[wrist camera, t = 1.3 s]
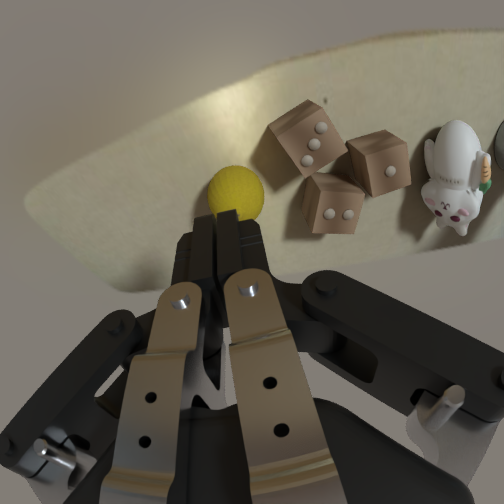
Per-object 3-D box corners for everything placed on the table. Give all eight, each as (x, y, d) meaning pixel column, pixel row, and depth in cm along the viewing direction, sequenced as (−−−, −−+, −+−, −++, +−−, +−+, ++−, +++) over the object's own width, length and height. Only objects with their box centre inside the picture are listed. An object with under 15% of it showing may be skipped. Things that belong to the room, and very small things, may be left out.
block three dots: (307, 99, 28) (323, 108, 24) (331, 136, 30) (349, 151, 26) (267, 125, 29) (276, 138, 25) (293, 160, 32) (305, 179, 28)
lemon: (253, 203, 35) (262, 244, 28) (205, 198, 34) (203, 238, 27) (263, 159, 31) (276, 191, 25) (212, 152, 30) (210, 182, 24)
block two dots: (347, 174, 33) (366, 194, 29) (339, 211, 36) (354, 235, 32) (307, 171, 33) (321, 191, 29) (301, 209, 36) (312, 234, 32)
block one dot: (384, 129, 30) (407, 143, 26) (390, 166, 33) (412, 185, 29) (346, 140, 31) (366, 156, 27) (355, 178, 34) (373, 198, 30)
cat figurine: (490, 132, 21) (475, 257, 29) (500, 124, 24) (490, 231, 32) (413, 118, 28) (413, 233, 36) (436, 112, 31) (435, 212, 39)
